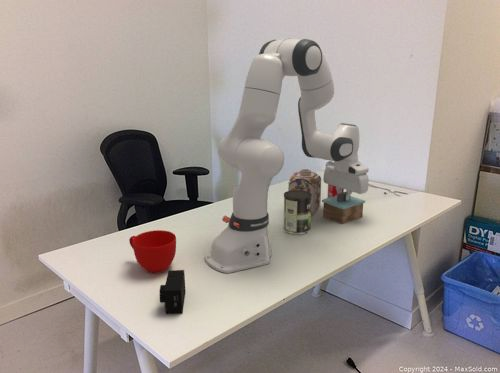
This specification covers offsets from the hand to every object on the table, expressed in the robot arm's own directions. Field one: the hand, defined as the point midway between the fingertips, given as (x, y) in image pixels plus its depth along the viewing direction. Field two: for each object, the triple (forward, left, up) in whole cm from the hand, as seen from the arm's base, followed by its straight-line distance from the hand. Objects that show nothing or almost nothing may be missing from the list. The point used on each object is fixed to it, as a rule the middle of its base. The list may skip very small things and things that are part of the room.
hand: (343, 198), depth 162 cm
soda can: (+14, +17, -9) cm, 24 cm away
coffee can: (-22, +3, -9) cm, 24 cm away
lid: (0, 0, -3) cm, 3 cm away
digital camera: (-81, -14, -9) cm, 83 cm away
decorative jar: (-6, +16, -9) cm, 19 cm away
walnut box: (0, 0, -8) cm, 8 cm away
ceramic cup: (-78, +8, -9) cm, 79 cm away
